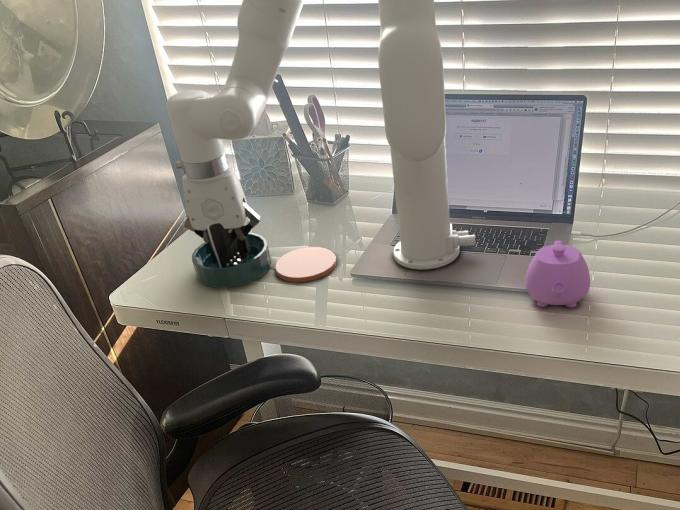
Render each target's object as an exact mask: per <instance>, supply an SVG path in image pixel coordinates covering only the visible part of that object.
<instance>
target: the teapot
mask: <svg viewBox="0 0 680 510" xmlns="http://www.w3.org/2000/svg"><path fill="white" fill-rule="evenodd" d="M524 282H525V289H526V292H527V293H528V294H529V296H530V297H531V298H532V299H533V300H534V301H536V305H537V306H539V307H543V308H544V307H547V306H548V305H552V306H560V305H561V306H563V305H565V306H566V307H568V308H574V307H575V308H576V306H577V305H578V302H580V301H581V300H582V299H583V298H585V297H586V295H587V294H588V292H589V290H590V288H591V275H590V269H589V267H588V264H587V262H586V260H585V258H584V256H583V254H582V253H581V251H580V249H578V248H577V247H575V246H572V245H568V244H564V242H563V241H562V240H555V241H554V244H551V245H544V246H542V247H540V248H539V249H538V250H537V252H536V253H535V254H534V256H533V258H532V259H531V261H530V263H529V266H528V268H527V270H526V275H525V281H524Z"/></svg>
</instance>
